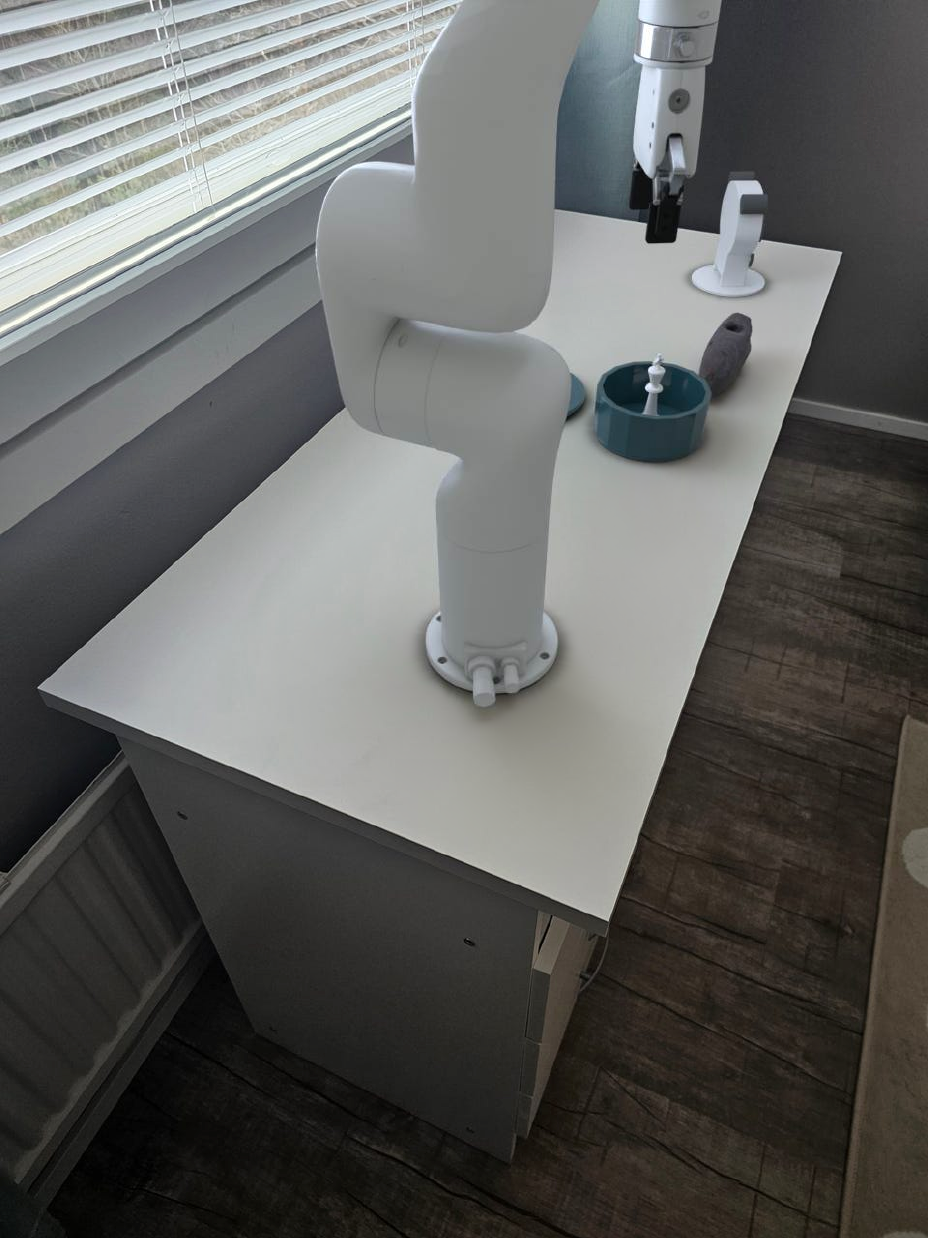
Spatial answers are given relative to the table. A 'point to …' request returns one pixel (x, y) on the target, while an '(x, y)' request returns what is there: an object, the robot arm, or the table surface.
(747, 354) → the perforated stone tool
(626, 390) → the bowl
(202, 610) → the table surface
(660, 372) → the chess piece
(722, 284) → the white stand
